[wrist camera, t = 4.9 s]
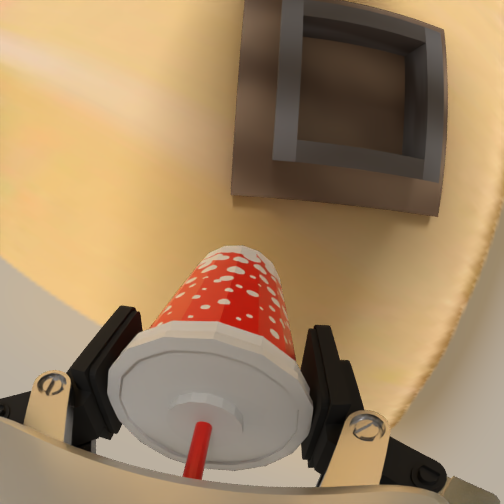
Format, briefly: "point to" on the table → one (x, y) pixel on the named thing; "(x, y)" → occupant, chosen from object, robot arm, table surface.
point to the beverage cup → (216, 370)
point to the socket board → (340, 106)
